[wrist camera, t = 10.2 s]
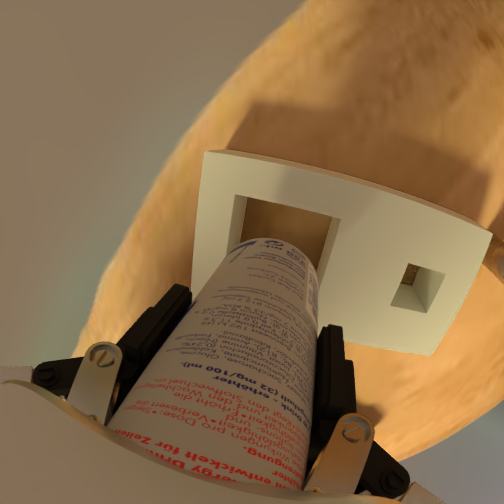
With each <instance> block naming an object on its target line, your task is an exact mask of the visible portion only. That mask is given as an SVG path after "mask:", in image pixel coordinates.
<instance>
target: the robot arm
mask: <svg viewBox="0 0 504 504" xmlns="http://www.w3.org/2000/svg"><path fill="white" fill-rule="evenodd" d="M191 304H192V292H191V291H189V288H188V287H186V286H183V285H180V284H174V285H173V286H172V287H171V289H170V290H169V291H168V292H167V293H166V294H165V295H164V296H163V297H162V299H161V300H160V301H159V302H158V303H157V304H156V305H155V306H154V307H149V308H148V309H147V310H146V311H145V312H144V313H143V314H142V315H141V316H140V318H139V319H138V320H137V321H136V322H135V323H134V324H133V325H132V327H131V328H130V329H129V330H128V331H127V332H126V333H125V334H124V336H123V337H122V338H121V339H120V340H119V341H118V342H117V344H116V345H115V344H114V343H111V342H98V343H95V344H93V345H92V346H90V347H89V348H88V350H87V351H86V353H85V356H84V357H78V358H71V359H64V360H56V361H48V362H43V363H42V364H39V365H38V366H37V367H36V368H35V369H33V367H32V366H25V367H24V366H23V367H1V366H0V504H446V503H445V502H444V501H443V500H441V499H440V498H438V497H437V496H435V495H434V494H432V493H431V492H429V491H428V490H426V489H425V488H423V487H422V486H421V485H419V484H418V483H417V482H414V483H412V482H410V476H409V474H408V472H407V471H406V469H405V468H404V467H403V466H401V465H400V464H399V463H398V462H397V461H396V460H395V459H394V458H392V457H391V456H390V455H389V454H388V453H387V452H386V451H385V450H384V449H383V448H381V447H380V446H379V445H378V444H377V443H376V442H375V441H374V440H373V439H374V434H375V430H374V426H373V424H372V422H371V421H370V420H369V419H368V418H367V417H365V416H363V415H361V414H357V413H356V393H355V378H354V366H353V362H352V360H346V359H345V352H344V339H343V328H342V326H337V325H333V324H328V326H327V327H325V326H323V327H322V329H321V332H320V334H319V337H318V339H317V357H316V375H315V390H314V403H313V414H312V424H311V434H310V443H309V451H308V459H307V466H306V473H305V480H304V486H303V487H302V490H292V489H285V488H278V487H272V486H267V485H261V484H256V483H246V482H236V481H228V480H223V479H218V478H214V477H209V476H205V475H201V474H198V473H195V472H192V471H189V470H186V469H184V468H181V467H178V466H176V465H173V464H171V463H169V462H167V461H165V460H163V459H161V458H159V457H157V456H156V455H154V454H152V453H150V452H148V451H147V450H145V449H144V448H143V447H141V446H140V445H138V444H137V443H135V442H134V441H132V440H130V439H128V438H126V437H124V436H122V435H120V434H118V433H116V432H114V431H113V430H111V429H109V428H107V427H106V426H107V425H108V423H109V422H110V420H111V419H112V417H113V416H114V414H115V413H116V411H117V410H118V408H119V407H120V405H121V404H122V402H123V401H124V399H125V398H126V396H127V395H128V394H129V392H130V391H131V389H132V388H133V386H134V385H135V383H136V382H137V380H138V379H139V377H140V376H141V375H142V373H143V372H144V370H145V369H146V367H147V366H148V364H149V363H150V362H151V360H152V359H153V357H154V356H155V354H156V353H157V352H158V350H159V349H160V347H161V346H162V344H163V343H164V342H165V340H166V339H167V337H168V336H169V334H170V333H171V332H172V330H173V329H174V327H175V326H176V325H177V323H178V322H179V320H180V319H181V318H182V316H183V315H184V313H185V312H186V311H187V309H188V308H189V306H190V305H191Z"/></svg>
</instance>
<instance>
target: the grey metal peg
mask: <svg viewBox="0 0 504 504" xmlns="http://www.w3.org/2000/svg"><path fill="white" fill-rule="evenodd" d="M482 264H483V265H484V266H486V267H487V268H488V269H489V270H490V271H491V272H492V273H493V274H494V275H495V276H496V277H497V278H498V279H499V280H500V281H501V282H502V283H503V284H504V242H503V241H501V240H500V239H499V238H497V237H496V236H494V235H492V238H491V241H490V244H489V246H488V249H487V251H486V254H485V256H484V259H483V261H482Z"/></svg>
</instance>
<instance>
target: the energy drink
mask: <svg viewBox="0 0 504 504" xmlns="http://www.w3.org/2000/svg"><path fill="white" fill-rule="evenodd" d="M317 333H318V279H317V274H316V271H315V269H314V266H313V264H312V263H311V261H310V260H309V258H308V257H307V256H306V255H305V254H304V253H303V252H302V251H301V250H299V249H298V248H296V247H295V246H293V245H292V244H290V243H287V242H285V241H282V240H278V239H274V238H256V239H250V240H248V241H245V242H242V243H240V244H239V245H237V246H236V247H234V248H233V249H232V250H231V251H230V252H229V253H228V254H227V255H226V257H225V258H224V259H223V261H222V262H221V264H220V265H219V266H218V268H217V269H216V270H215V272H214V273H213V274H212V276H211V277H210V279H209V280H208V281H207V283H206V284H205V285H204V287H203V288H202V290H201V291H200V292H199V294H198V295H197V297H196V298H195V299H194V301H193V302H192V304H191V305H190V306H189V308H188V309H187V311H186V312H185V313H184V315H183V316H182V318H181V319H180V320H179V322H178V323H177V325H176V326H175V327H174V329H173V330H172V332H171V333H170V334H169V336H168V337H167V339H166V340H165V342H164V343H163V344H162V346H161V347H160V349H159V350H158V352H157V353H156V354H155V356H154V357H153V359H152V360H151V362H150V363H149V364H148V366H147V367H146V369H145V370H144V372H143V373H142V375H141V376H140V377H139V379H138V380H137V382H136V383H135V385H134V386H133V388H132V389H131V391H130V392H129V394H128V395H127V396H126V398H125V399H124V401H123V402H122V404H121V405H120V407H119V408H118V410H117V411H116V413H115V414H114V416H113V417H112V419H111V420H110V422H109V423H108V425H107V426H106V427H107V428H109V429H111V430H113V431H114V432H116V433H118V434H120V435H122V436H124V437H126V438H128V439H130V440H132V441H134V442H135V443H137V444H138V445H140V446H141V447H143V448H144V449H145V450H147V451H148V452H150V453H152V454H154V455H156V456H157V457H159V458H161V459H163V460H165V461H167V462H169V463H171V464H173V465H176V466H178V467H181V468H184V469H186V470H189V471H192V472H195V473H198V474H201V475H205V476H209V477H214V478H218V479H223V480H228V481H236V482H246V483H256V484H261V485H267V486H272V487H278V488H285V489H292V490H302V487H303V486H304V480H305V473H306V466H307V459H308V451H309V443H310V434H311V424H312V414H313V403H314V390H315V375H316V357H317Z"/></svg>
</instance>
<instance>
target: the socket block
mask: <svg viewBox="0 0 504 504" xmlns="http://www.w3.org/2000/svg"><path fill="white" fill-rule="evenodd" d="M248 197H251V198H255V199H260V200H264V201H269V202H273V203H278V204H282V205H287V206H291V207H295V208H299V209H303V210H308V211H312V212H316V213H320V214H324V215H328V216H331V217H332V218H331V222H330V226H329V229H328V233H327V237H326V240H325V244H324V247H323V251H322V254H321V257H320V261H319V264H318V267H317V271H316V274H317V279H318V333H317V336H319V334H320V332H321V329H322V327H323V326H325V327H327V326H328V324H333V325H337V326H342V328H343V339H344V342H348V343H353V344H359V345H364V346H370V347H376V348H381V349H388V350H394V351H400V352H407V353H414V354H421V355H429V356H431V355H432V354H433V352H434V351H435V349H436V348H437V346H438V345H439V343H440V342H441V340H442V338H443V337H444V335H445V334H446V332H447V330H448V329H449V327H450V325H451V324H452V322H453V320H454V318H455V317H456V315H457V313H458V311H459V309H460V308H461V306H462V304H463V302H464V300H465V298H466V296H467V294H468V292H469V290H470V288H471V286H472V284H473V282H474V280H475V277H476V275H477V273H478V271H479V268H480V266H481V264H482V261H483V259H484V256H485V254H486V251H487V249H488V246H489V244H490V241H491V238H492V235H493V233H491V232H490V231H488V230H487V229H485V228H484V227H482V226H481V225H479V224H478V223H476V222H474V221H473V220H471V219H470V218H468V217H466V216H464V215H461V214H459V213H457V212H454V211H452V210H450V209H447V208H445V207H442V206H440V205H437V204H434V203H432V202H429V201H427V200H424V199H421V198H418V197H416V196H413V195H410V194H407V193H404V192H401V191H398V190H395V189H392V188H389V187H386V186H383V185H380V184H377V183H374V182H370V181H367V180H364V179H360V178H357V177H353V176H350V175H346V174H342V173H339V172H335V171H331V170H327V169H323V168H319V167H315V166H311V165H307V164H302V163H298V162H293V161H289V160H284V159H279V158H274V157H269V156H264V155H259V154H253V153H247V152H242V151H236V150H229V149H219V150H210V151H204V157H203V164H202V172H201V180H200V189H199V197H198V207H197V216H196V227H195V238H194V250H193V263H192V277H191V292H192V302H193V301H194V299H195V298H196V297H197V295H198V294H199V292H200V291H201V290H202V288H203V287H204V285H205V284H206V283H207V281H208V280H209V279H210V277H211V276H212V274H213V273H214V272H215V270H216V269H217V268H218V266H219V265H220V264H221V262H222V261H223V259H224V258H225V257H226V255H227V254H228V253H229V252H230V251H231V250H232V249H233V248H234V247H236V246H237V245H239V244H240V241H241V235H242V229H243V223H244V216H245V210H246V205H247V199H248ZM408 263H410V264H413V265H417V266H420V268H419V270H418V272H417V275H416V277H415V279H414V281H413V284H412V286H410V285H406V284H402V283H400V282H401V280H402V278H403V275H404V273H405V270H406V268H407V266H408Z"/></svg>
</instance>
